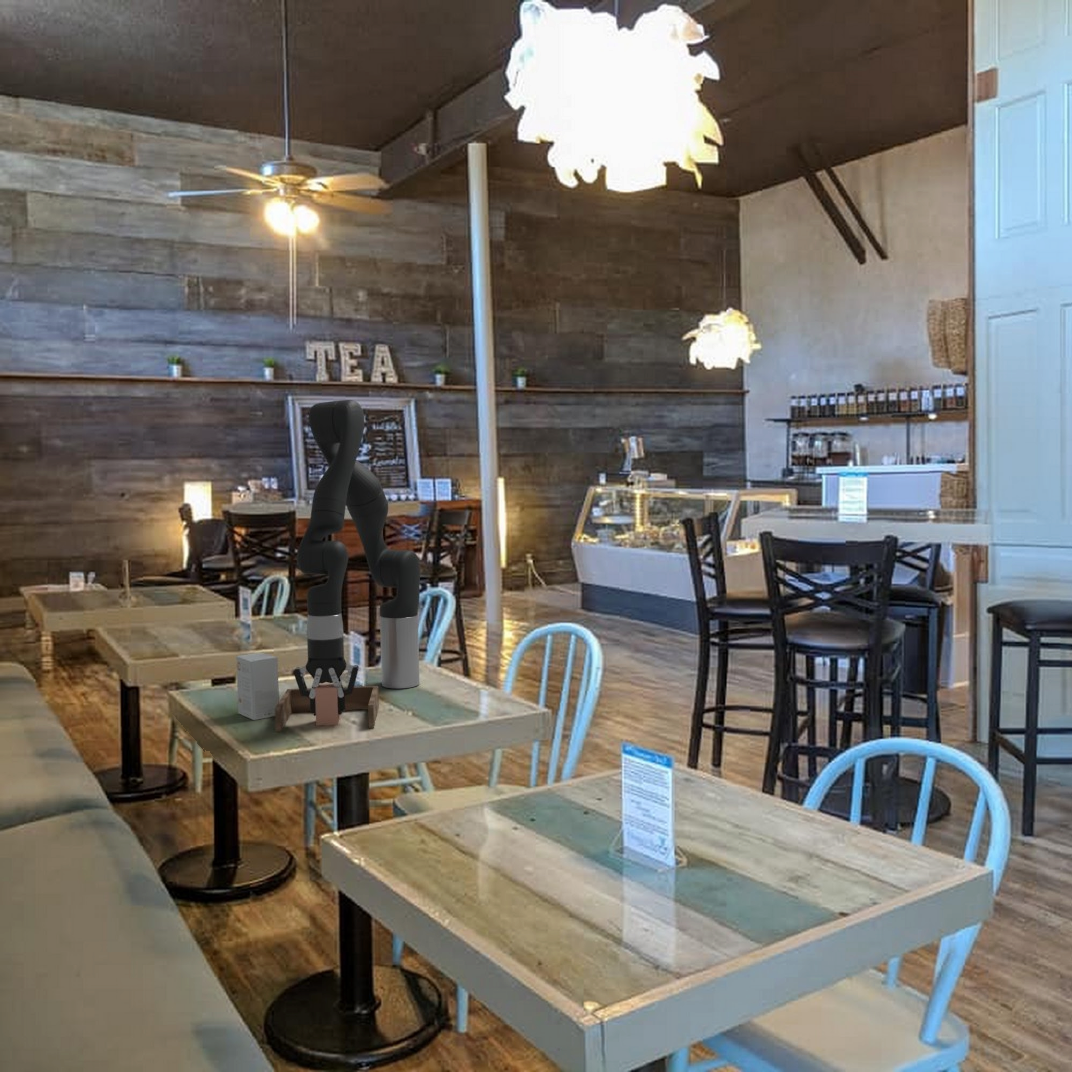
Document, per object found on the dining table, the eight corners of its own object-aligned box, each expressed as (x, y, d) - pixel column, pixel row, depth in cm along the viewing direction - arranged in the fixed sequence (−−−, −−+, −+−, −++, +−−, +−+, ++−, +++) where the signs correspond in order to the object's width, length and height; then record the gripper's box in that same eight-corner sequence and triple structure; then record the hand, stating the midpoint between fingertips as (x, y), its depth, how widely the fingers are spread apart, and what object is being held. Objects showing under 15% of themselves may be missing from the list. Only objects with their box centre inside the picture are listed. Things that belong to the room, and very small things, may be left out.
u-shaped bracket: (288, 711, 230) (287, 689, 230) (378, 707, 232) (378, 685, 232) (275, 732, 213) (275, 708, 213) (373, 728, 215) (373, 704, 215)
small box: (280, 715, 227) (278, 657, 226) (253, 720, 223) (250, 661, 222) (264, 708, 233) (262, 651, 232) (237, 713, 229) (235, 655, 228)
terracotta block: (318, 720, 222) (317, 683, 222) (340, 719, 223) (338, 682, 222) (316, 725, 218) (315, 688, 217) (337, 725, 218) (336, 687, 218)
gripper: (360, 630, 223) (363, 708, 225) (293, 632, 222) (296, 711, 223) (358, 637, 216) (360, 717, 217) (288, 639, 214) (291, 720, 216)
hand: (327, 714), depth 220 cm, fingers closed on terracotta block, 4 cm apart
